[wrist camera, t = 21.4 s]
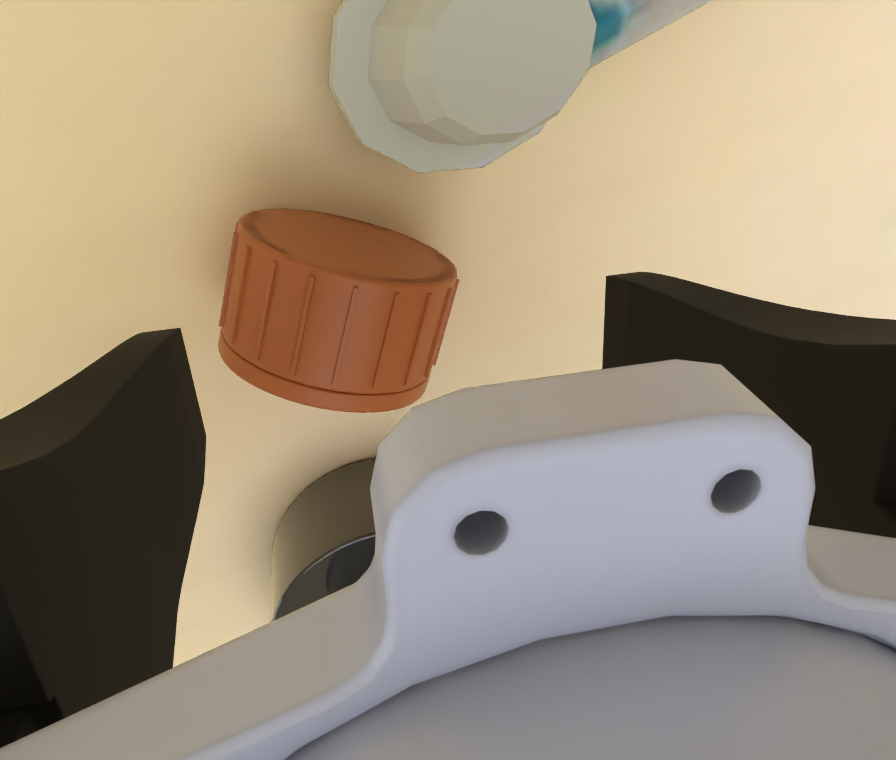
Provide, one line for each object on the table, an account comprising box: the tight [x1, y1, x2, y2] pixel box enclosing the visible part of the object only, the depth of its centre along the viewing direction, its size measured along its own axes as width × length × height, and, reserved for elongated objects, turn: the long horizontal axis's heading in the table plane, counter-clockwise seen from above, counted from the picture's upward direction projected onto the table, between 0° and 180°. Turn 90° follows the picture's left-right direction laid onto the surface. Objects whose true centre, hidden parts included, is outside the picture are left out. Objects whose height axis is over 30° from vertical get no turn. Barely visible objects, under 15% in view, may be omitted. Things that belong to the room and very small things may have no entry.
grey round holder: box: [271, 458, 376, 622], centre depth 25 cm, size 8×8×7 cm
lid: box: [218, 209, 459, 413], centre depth 21 cm, size 6×6×3 cm
